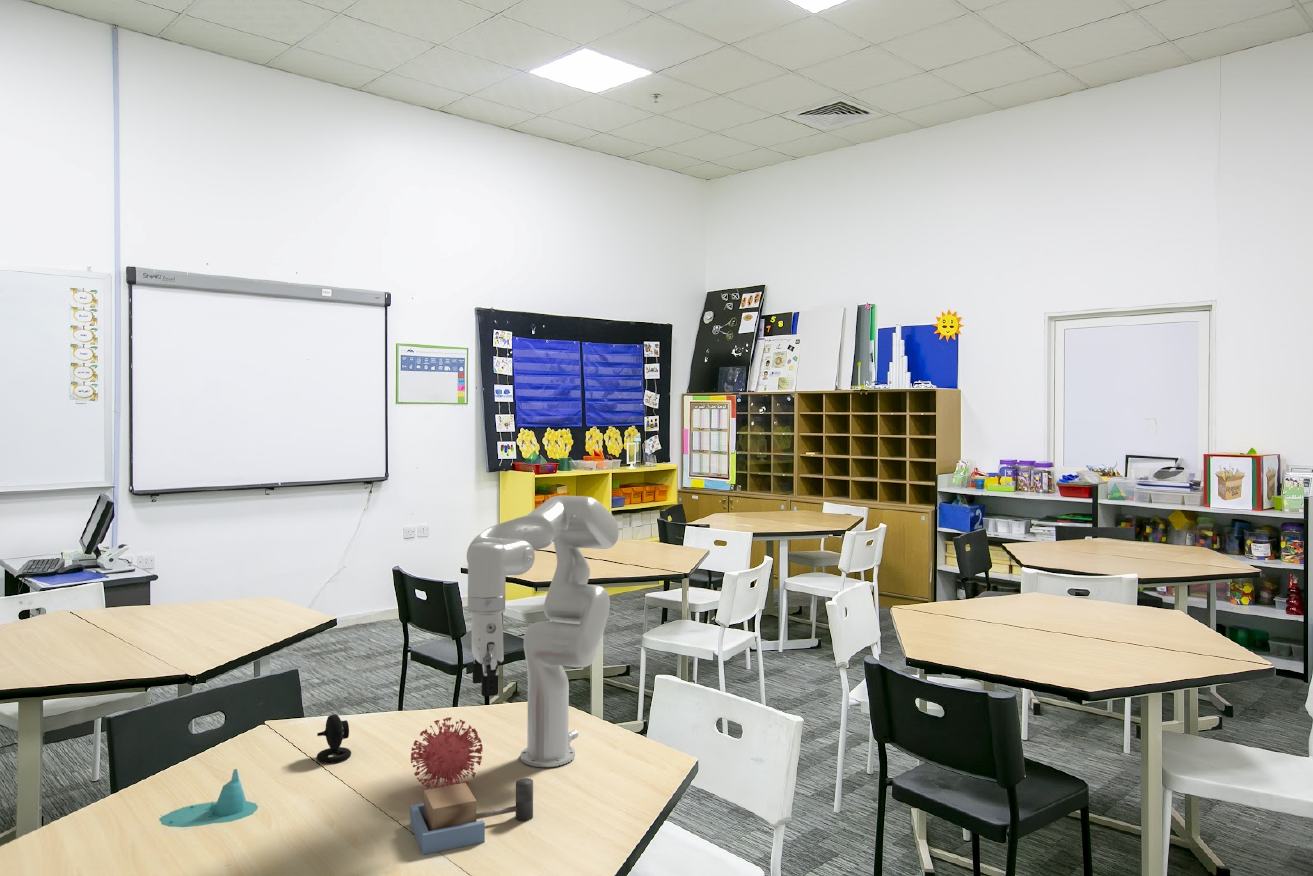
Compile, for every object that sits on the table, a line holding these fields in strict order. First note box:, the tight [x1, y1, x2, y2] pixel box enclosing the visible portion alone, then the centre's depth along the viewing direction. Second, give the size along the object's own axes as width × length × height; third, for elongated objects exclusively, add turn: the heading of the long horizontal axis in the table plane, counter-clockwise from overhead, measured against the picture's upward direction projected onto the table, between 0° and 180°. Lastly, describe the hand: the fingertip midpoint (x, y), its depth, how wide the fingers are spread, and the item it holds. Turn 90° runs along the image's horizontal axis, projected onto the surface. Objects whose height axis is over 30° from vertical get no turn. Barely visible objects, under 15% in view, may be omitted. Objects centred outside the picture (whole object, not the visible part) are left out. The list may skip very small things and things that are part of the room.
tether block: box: [423, 777, 534, 831], centre depth 162 cm, size 20×9×7 cm, turn 116°
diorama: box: [158, 768, 259, 828], centre depth 167 cm, size 12×20×9 cm, turn 106°
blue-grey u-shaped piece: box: [409, 802, 486, 856], centre depth 159 cm, size 11×13×4 cm
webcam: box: [316, 714, 352, 764], centre depth 195 cm, size 8×8×10 cm
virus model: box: [410, 717, 483, 789], centre depth 178 cm, size 15×15×15 cm
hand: (485, 689), depth 170 cm, fingers open, 9 cm apart
